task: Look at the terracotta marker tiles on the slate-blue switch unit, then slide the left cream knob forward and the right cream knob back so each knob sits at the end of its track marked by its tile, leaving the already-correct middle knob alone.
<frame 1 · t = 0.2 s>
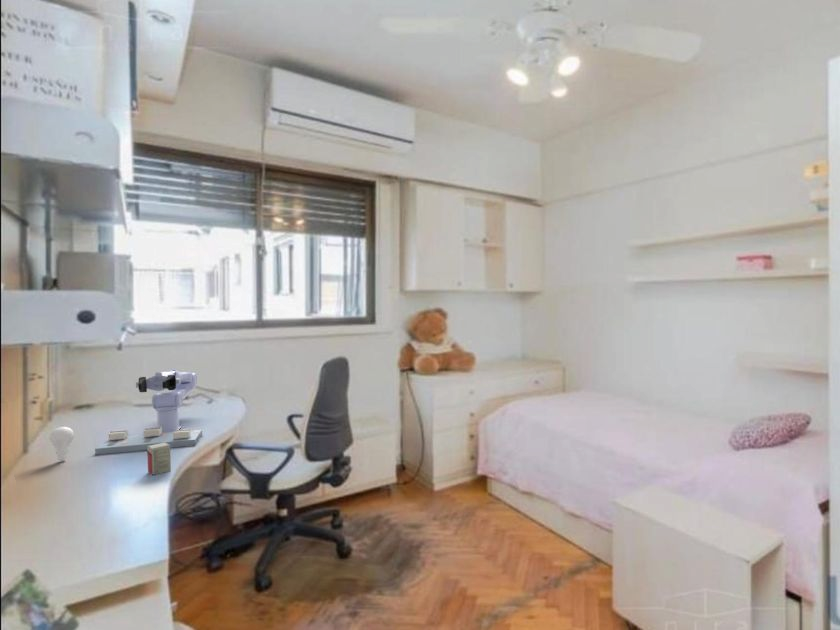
hand: (151, 385, 165), 21 cm above the table, tool horizontal, fingers open, 7 cm apart
knob b: (152, 431, 170), point 4 cm above the table, slide at 0.0 cm
switch unit: (152, 444, 166), on the table
lightbulb: (62, 461, 148), on the table
knob a: (118, 434, 166), point 4 cm above the table, slide at 0.0 cm
small box: (159, 472, 136), on the table
knob c: (182, 433, 166), point 4 cm above the table, slide at 7.0 cm
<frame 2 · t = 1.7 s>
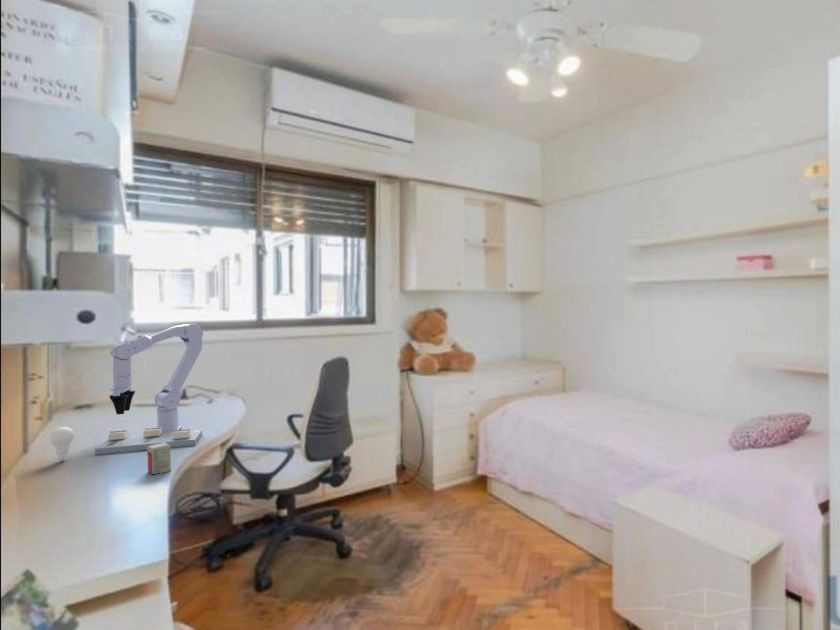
hand: (123, 412, 172), 10 cm above the table, tool pointing down, fingers open, 6 cm apart
nothing on the table moved.
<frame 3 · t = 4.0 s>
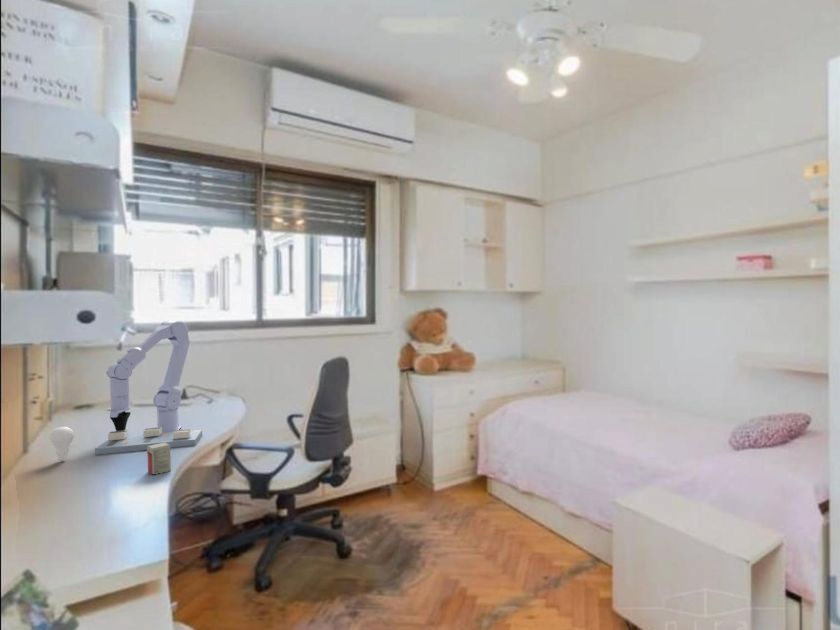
hand: (120, 433, 169), 3 cm above the table, tool pointing down, fingers closed
knob a: (118, 434, 166), point 4 cm above the table, slide at 0.5 cm, touching gripper
everything else where it was.
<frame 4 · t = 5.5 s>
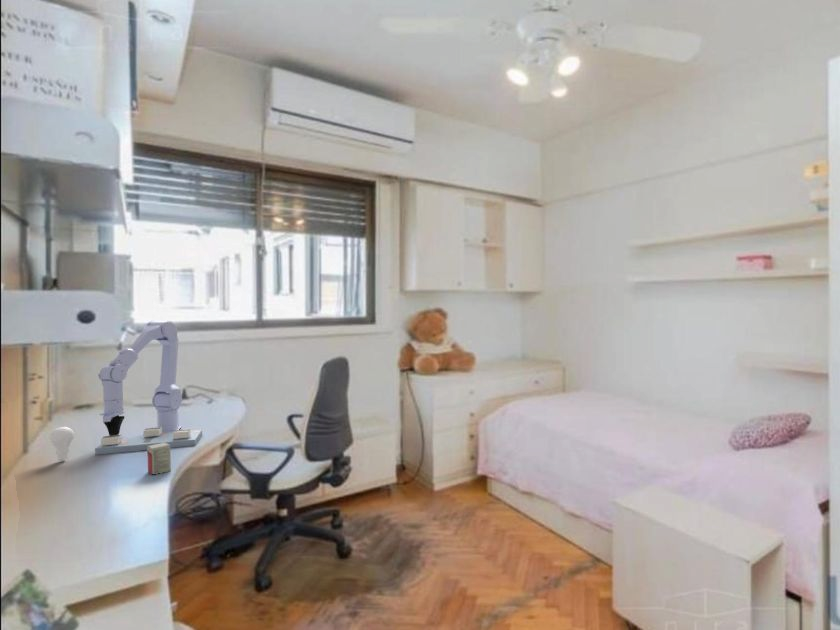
hand: (114, 438, 162), 3 cm above the table, tool pointing down, fingers closed
knob a: (111, 439, 160), point 4 cm above the table, slide at 7.2 cm, touching gripper
everything else where it was.
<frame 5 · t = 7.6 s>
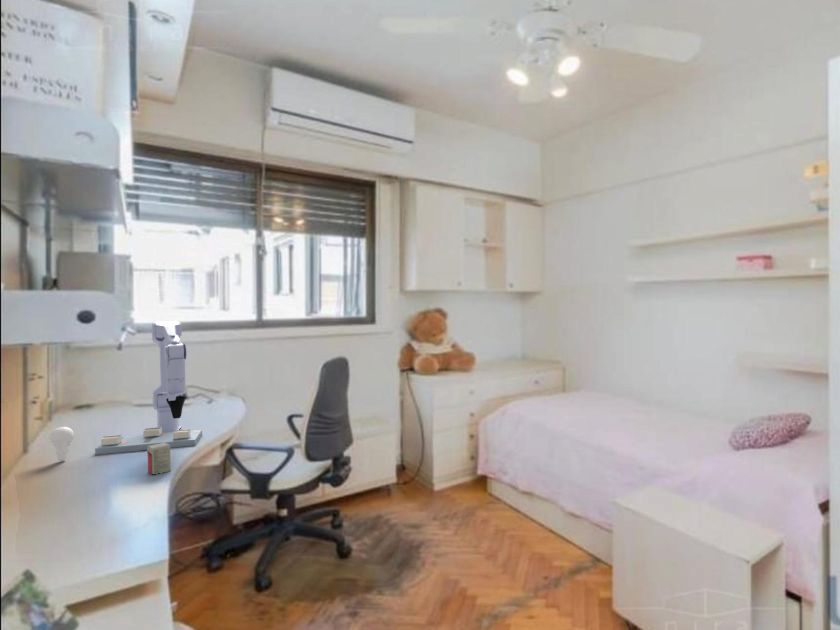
hand: (176, 418, 160), 10 cm above the table, tool pointing down, fingers closed
knob a: (111, 439, 160), point 4 cm above the table, slide at 7.0 cm
everything else where it was.
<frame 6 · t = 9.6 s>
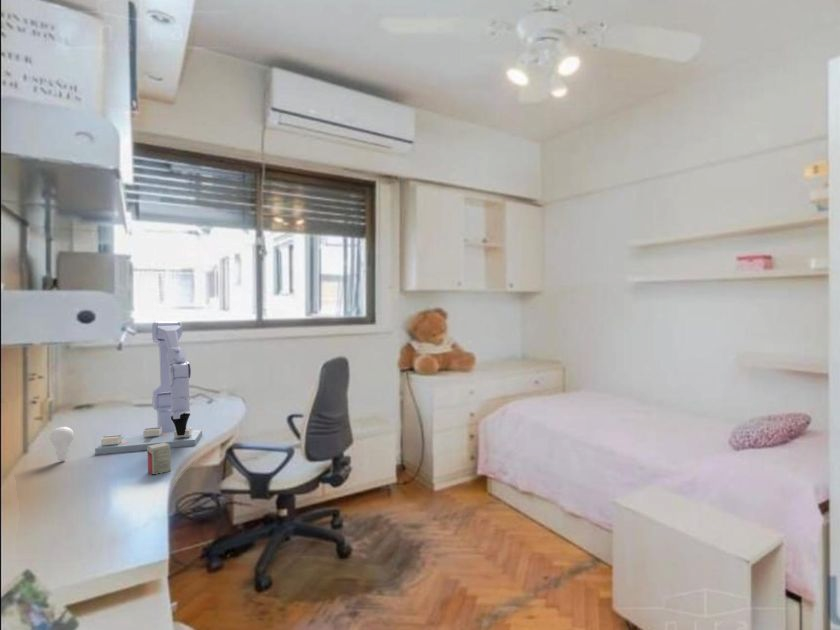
hand: (181, 434, 165), 3 cm above the table, tool pointing down, fingers closed
knob c: (182, 432, 168), point 4 cm above the table, slide at 5.4 cm, touching gripper
everything else where it was.
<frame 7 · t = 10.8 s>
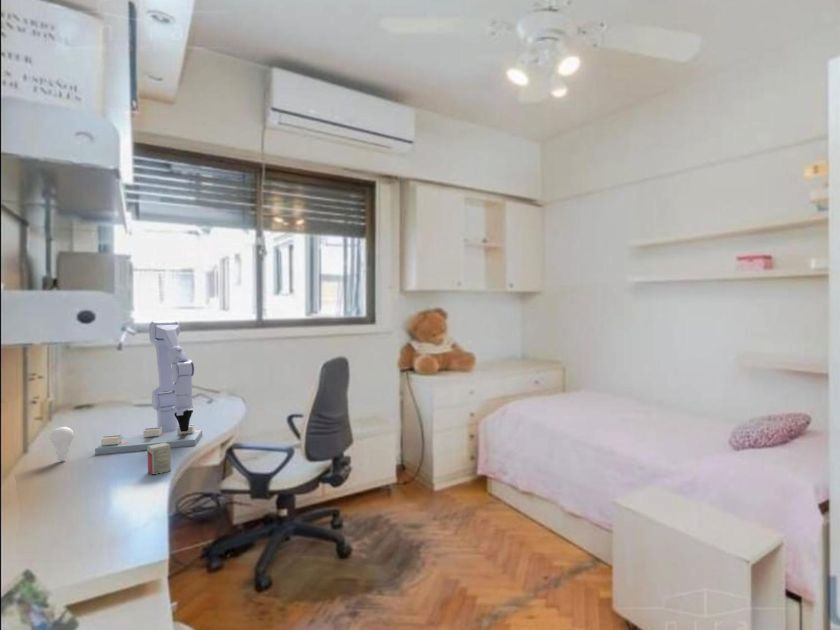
hand: (184, 431, 170), 3 cm above the table, tool pointing down, fingers closed
knob c: (185, 428, 173), point 4 cm above the table, slide at -0.1 cm, touching gripper
everything else where it was.
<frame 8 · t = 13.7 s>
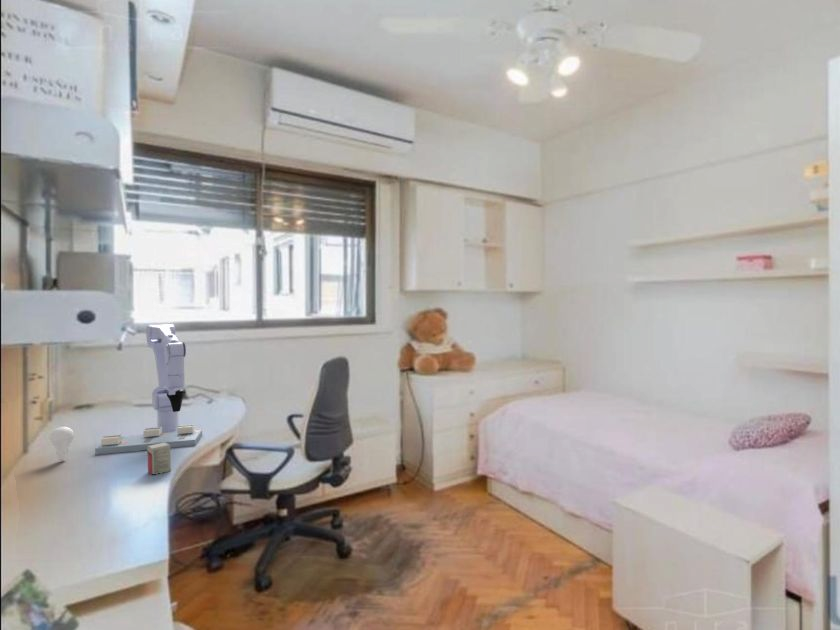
hand: (176, 411, 172), 10 cm above the table, tool pointing down, fingers closed
knob c: (185, 428, 173), point 4 cm above the table, slide at 0.0 cm
everything else where it was.
at the end: knob a slide at 7.0 cm; knob c slide at 0.0 cm; knob b slide at 0.0 cm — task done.
